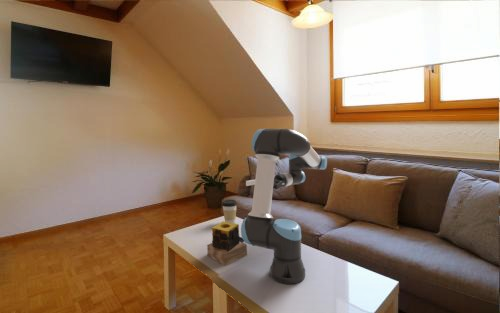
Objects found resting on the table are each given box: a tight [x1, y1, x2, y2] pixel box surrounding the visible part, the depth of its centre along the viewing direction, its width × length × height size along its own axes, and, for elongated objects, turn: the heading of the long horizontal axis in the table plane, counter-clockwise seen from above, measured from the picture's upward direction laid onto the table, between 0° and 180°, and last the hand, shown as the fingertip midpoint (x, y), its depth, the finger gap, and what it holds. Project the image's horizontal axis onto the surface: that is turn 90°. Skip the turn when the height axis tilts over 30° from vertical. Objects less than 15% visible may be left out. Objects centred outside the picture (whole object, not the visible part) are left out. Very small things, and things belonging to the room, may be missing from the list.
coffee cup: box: [222, 199, 238, 224], centre depth 176 cm, size 10×10×15 cm
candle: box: [211, 220, 240, 251], centre depth 134 cm, size 10×10×10 cm
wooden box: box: [206, 240, 248, 266], centre depth 135 cm, size 14×14×6 cm
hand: (253, 185), depth 145 cm, fingers open, 13 cm apart
